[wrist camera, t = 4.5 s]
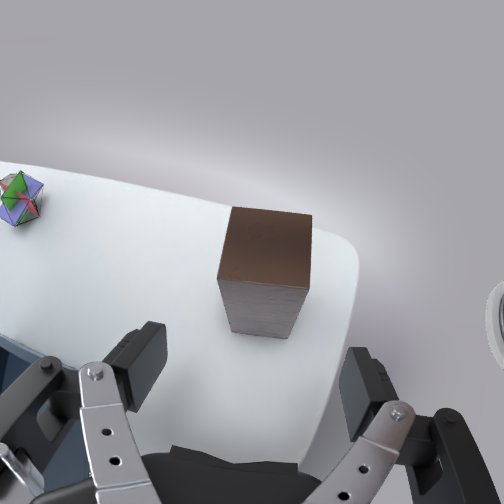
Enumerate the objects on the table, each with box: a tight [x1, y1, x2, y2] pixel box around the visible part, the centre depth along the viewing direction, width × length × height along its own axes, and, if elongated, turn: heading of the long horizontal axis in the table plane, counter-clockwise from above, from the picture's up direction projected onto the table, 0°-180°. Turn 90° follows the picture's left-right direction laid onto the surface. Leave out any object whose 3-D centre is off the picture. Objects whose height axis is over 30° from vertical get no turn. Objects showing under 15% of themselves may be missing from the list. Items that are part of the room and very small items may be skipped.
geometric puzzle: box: [0, 170, 44, 227], centre depth 26 cm, size 7×7×8 cm
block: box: [217, 207, 312, 339], centre depth 19 cm, size 4×4×10 cm
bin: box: [0, 334, 90, 493], centre depth 14 cm, size 13×13×7 cm
